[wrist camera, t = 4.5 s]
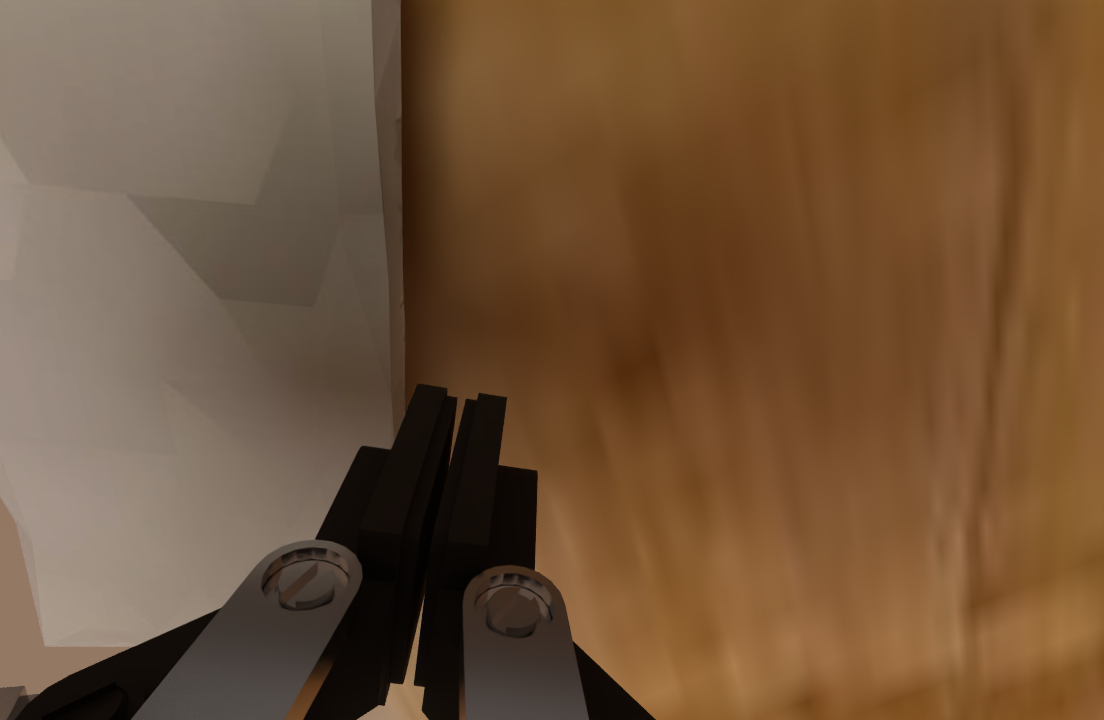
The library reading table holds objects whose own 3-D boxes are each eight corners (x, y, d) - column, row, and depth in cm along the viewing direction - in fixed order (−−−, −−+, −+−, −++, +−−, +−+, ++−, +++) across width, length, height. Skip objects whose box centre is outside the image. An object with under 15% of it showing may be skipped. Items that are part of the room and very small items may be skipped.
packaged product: (438, -52, 14) (-12, -99, 14) (385, -105, 10) (-278, -177, 9) (431, 559, 22) (141, 536, 21) (399, 683, 17) (33, 657, 17)
